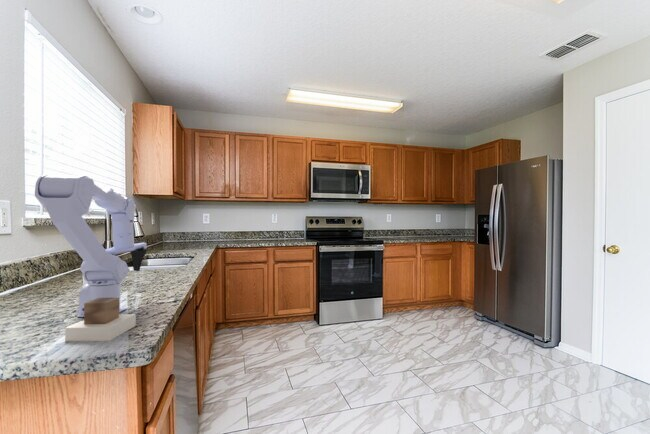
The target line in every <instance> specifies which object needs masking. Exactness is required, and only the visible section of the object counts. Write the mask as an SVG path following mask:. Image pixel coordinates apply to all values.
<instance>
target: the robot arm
mask: <svg viewBox="0 0 650 434" xmlns="http://www.w3.org/2000/svg"><path fill="white" fill-rule="evenodd" d="M34 197H35V198H36V200H37V201H38V202H39V203H40V204H41V205H42V207H43V209H45V211H46V212H47V213H48V215H49V218H50V220H51V223H52V224H53V225H54V226H55V228H57V230H58V231H59V232H60V233H61V235H62V236H63V238H65V240H67V242H68V243H69V244H70V246H71V247H72V248H73V249H74V250H75V252H76V253H77V254H78V256H80V258H81V259H82V263H81V264H80V268H79V270H80V272H81V273H82V279H83V278H84V279H85V281H86V282H88V284H86V285H83V286H82V287H81V289H80V291H79V296H78V297H79V298H78V299H79V300H78V314H77V315H76V317H77V318H82V317H83V318H84V303H86V302H89V301H92V300H94V299H97V298H119V313H121V312H123V311H125V310H127V309H128V307H126V306H125V307H122V306H121V283H122V282H124V280H125V279H126V277H127V276H128V272H129V267H128V264H127V262H126V261H125V260H122V259H121V258H120V256H117V255H119V254H124V253H130V255H131V260H132V267H133V271H135V272H140V270H141V265H142V262H143V259H144V257H145V255H146V253H147V245H148V244H147V242H138V243H135V234H134V220H135V213H136V209H137V208H136V207H137V205H136V202H135V200H134V199H132V198H131V197H125V196H123V195H122V194H120V193H117V192H115V191H114V189H113V188H104V189H102V188H101V187H100V186H99V185H96V184H95V182H94V179H93V178H90V177H89V176H87V175H78V176H77V175H76V176H75V175H49V174H43V175H40V176H39V177H38V178H37V180H36V181H35V187H34ZM92 200H93V201H94V203H95V205H96V206H98V207H100V208H102V209H104V210H106V212H107V214H108V215H111V228H112V242H113V243H112V244H113V246H112V247H110V248H109V247H108V248H104V245H103V244H102V243H101V242H100V240H99V239H98V237H97V236H96V234H95V233H94V232H93V230H92V229H91V228H90V226H89V225H88V223H87V222H86V221H85V218H84V217H83V216H84V215H86V214H87V213H89V210H90V207H91V204H92Z"/></svg>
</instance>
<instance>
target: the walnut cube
mask: <svg viewBox="0 0 650 434" xmlns="http://www.w3.org/2000/svg"><path fill="white" fill-rule="evenodd" d="M119 314H120V312H119V298H97V299H94V300H92V301H89V302H86V303H84V317H83V320H84V324H107V323H109V322H111V321H113V320H115V319H117V318H119Z"/></svg>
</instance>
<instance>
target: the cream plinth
mask: <svg viewBox="0 0 650 434" xmlns="http://www.w3.org/2000/svg"><path fill="white" fill-rule="evenodd" d="M136 317H137V314H136V313H130V314H129V313H119V318H117V319H115V320H113V321H111V322H109V323H107V324H84V319H83V320H81V321H78V322H76V323H73V324H71V325H69V326H66V327H64V328H65V329H64V332H65V333H64V337H65V338H64V341H65V342H107V341H108V342H110V341H111V340H113V339H115V338H117V337H118V336H120V335H122V334H124V333H126V332H127V331H129V330H130V329H132V328H135V327H136V326H137V325H136V322H137V320H136V319H137V318H136Z"/></svg>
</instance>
